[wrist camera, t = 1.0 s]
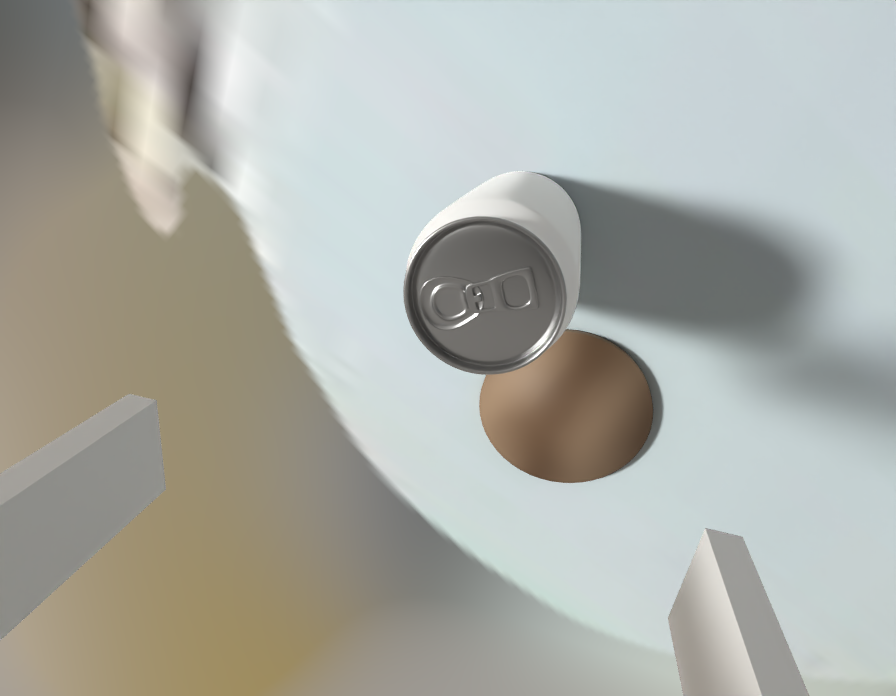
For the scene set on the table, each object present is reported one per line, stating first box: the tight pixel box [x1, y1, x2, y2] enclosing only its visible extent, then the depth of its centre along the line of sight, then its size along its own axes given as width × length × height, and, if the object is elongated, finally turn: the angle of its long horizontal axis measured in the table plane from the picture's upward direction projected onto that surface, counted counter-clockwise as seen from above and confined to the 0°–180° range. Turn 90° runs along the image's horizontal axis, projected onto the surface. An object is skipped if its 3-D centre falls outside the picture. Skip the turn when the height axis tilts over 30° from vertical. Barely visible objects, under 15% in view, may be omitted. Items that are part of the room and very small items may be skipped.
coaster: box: [479, 329, 653, 483], centre depth 32 cm, size 10×10×1 cm
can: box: [404, 171, 581, 375], centre depth 24 cm, size 6×6×12 cm
